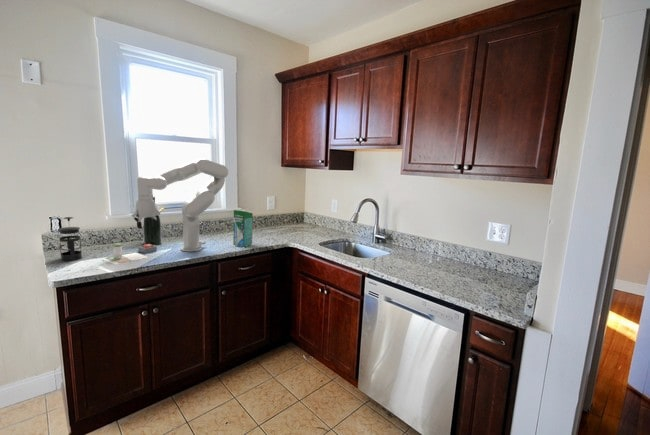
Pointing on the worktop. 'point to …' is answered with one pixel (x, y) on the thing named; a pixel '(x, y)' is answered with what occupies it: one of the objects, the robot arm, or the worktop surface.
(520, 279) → the worktop surface
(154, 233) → the green wine bottle
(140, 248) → the button housing
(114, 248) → the translucent whitish cylinder
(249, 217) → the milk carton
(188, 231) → the robot arm
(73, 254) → the french press
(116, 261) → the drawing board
